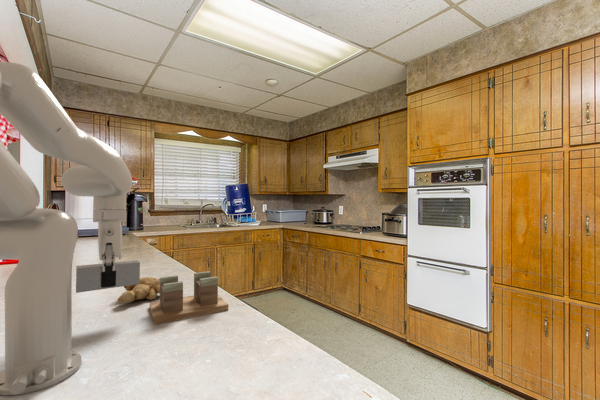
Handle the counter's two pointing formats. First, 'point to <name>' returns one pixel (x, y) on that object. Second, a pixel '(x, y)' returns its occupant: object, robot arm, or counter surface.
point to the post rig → (187, 299)
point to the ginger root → (141, 290)
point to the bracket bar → (91, 275)
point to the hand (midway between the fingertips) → (108, 283)
